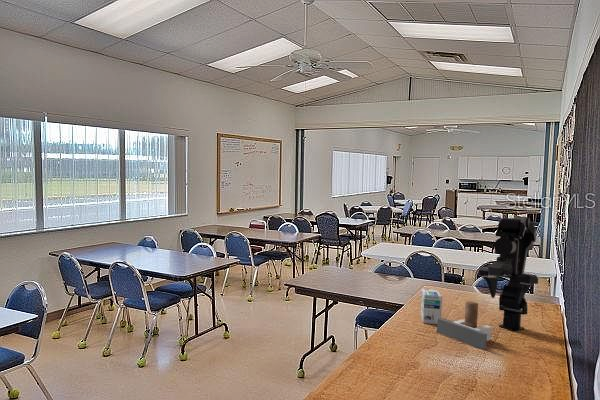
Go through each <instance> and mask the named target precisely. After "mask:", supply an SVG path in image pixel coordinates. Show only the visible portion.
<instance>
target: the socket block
mask: <svg viewBox="0 0 600 400" xmlns="http://www.w3.org/2000/svg"><path fill="white" fill-rule="evenodd" d="M464 321H465V318H462V319H459V320H455V321H453V322H454V323H457V324H460V325H463V326H466V325H464ZM466 327H469V326H466ZM469 328H472V327H469ZM472 329H475V330H478V331H481V332H484V333H487V342H489V341H491V340H492V332H493V331H492V330H493V327H492V326H490V325H488V324H487V325H483V326H477V328H472Z"/></svg>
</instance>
